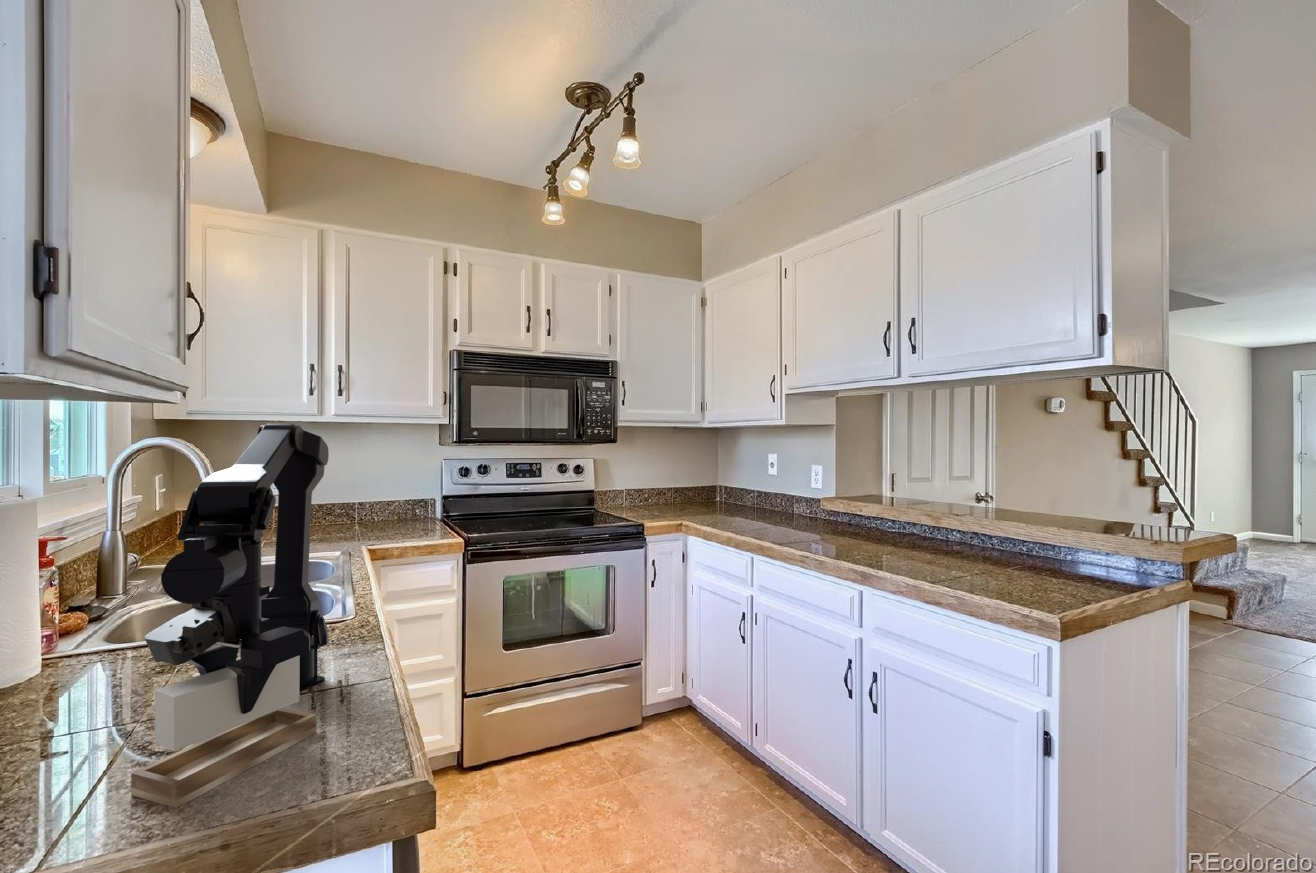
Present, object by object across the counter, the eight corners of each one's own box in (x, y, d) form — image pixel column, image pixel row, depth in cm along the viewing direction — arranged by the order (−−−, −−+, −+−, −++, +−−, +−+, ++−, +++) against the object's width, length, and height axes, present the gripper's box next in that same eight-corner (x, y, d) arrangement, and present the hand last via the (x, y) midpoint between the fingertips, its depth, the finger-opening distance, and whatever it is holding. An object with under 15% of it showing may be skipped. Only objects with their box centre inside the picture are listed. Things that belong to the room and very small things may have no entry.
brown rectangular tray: (276, 724, 82) (276, 706, 82) (316, 732, 80) (316, 714, 80) (131, 795, 66) (131, 773, 66) (176, 808, 63) (176, 785, 63)
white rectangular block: (280, 695, 80) (280, 650, 80) (299, 701, 78) (299, 655, 78) (154, 743, 67) (155, 690, 67) (173, 751, 66) (173, 697, 66)
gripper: (104, 591, 68) (103, 727, 68) (220, 606, 62) (220, 756, 62) (205, 570, 79) (205, 688, 79) (313, 582, 73) (313, 710, 73)
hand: (232, 709), depth 73 cm, fingers closed on white rectangular block, 4 cm apart
